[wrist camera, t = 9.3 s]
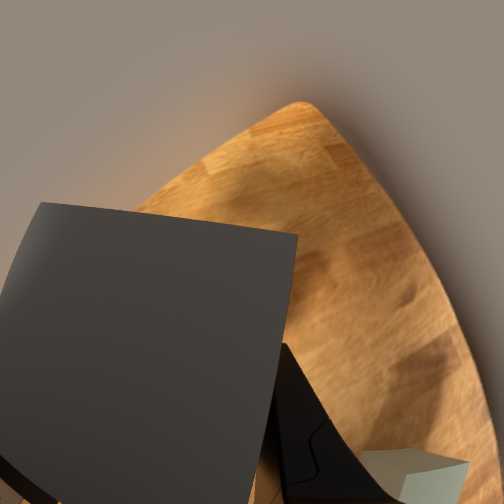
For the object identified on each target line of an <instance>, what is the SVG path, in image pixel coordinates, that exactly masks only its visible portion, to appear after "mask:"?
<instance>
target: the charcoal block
mask: <svg viewBox="0 0 504 504" xmlns="http://www.w3.org/2000/svg"><path fill="white" fill-rule="evenodd" d="M297 240H298V235H296V234H290V233H283V232H277V231H270V230H264V229H257V228H250V227H243V226H236V225H229V224H222V223H215V222H208V221H201V220H193V219H186V218H178V217H170V216H163V215H155V214H147V213H138V212H130V211H122V210H113V209H104V208H95V207H85V206H76V205H66V204H57V203H45V202H41V203H40V205H39V207H38V209H37V211H36V213H35V215H34V217H33V219H32V221H31V223H30V225H29V227H28V229H27V231H26V233H25V235H24V237H23V239H22V242H21V244H20V246H19V249H18V251H17V253H16V255H15V258H14V260H13V263H12V265H11V268H10V270H9V273H8V276H7V278H6V281H5V284H4V287H3V290H2V293H1V296H0V455H1V456H2V457H3V458H4V459H6V460H7V461H8V462H9V463H10V464H11V465H12V466H13V467H14V468H16V469H17V470H18V471H19V472H20V473H22V474H23V475H24V476H25V477H26V478H28V479H29V480H30V481H31V482H33V483H34V484H35V485H37V486H38V487H39V488H41V489H42V490H43V491H45V492H46V493H48V494H49V495H50V496H52V497H53V498H55V499H56V500H58V501H59V502H61V503H62V504H248V501H249V497H250V493H251V489H252V485H253V481H254V477H255V473H256V469H257V464H258V460H259V456H260V451H261V447H262V442H263V438H264V433H265V428H266V424H267V419H268V414H269V409H270V404H271V399H272V394H273V389H274V384H275V379H276V373H277V368H278V362H279V357H280V351H281V345H282V340H283V334H284V328H285V322H286V316H287V309H288V303H289V297H290V290H291V283H292V276H293V269H294V262H295V255H296V248H297Z"/></svg>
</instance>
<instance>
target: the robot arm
mask: <svg viewBox="0 0 504 504" xmlns="http://www.w3.org/2000/svg"><path fill="white" fill-rule="evenodd" d="M24 499H25V500H26V501H28V502H29V503H30V504H57V503H58V502H59V501H58V500H56V499H55V498H53V497H52V496H50V495H49V494H48V493H46V492H45V491H43V490H42V489H41V488H39V487H38V486H37V485H35V484H34V483H33V482H31V481H30V480H29V479H28V478H26V477H25V476H24V475H23V474H22V473H20V472H19V471H18V470H17V469H16V468H14V467H13V466H12V465H11V464H10V463H9V462H8V461H7V460H6V459H4V458H3V457H2V456H1V455H0V504H21V503H22V501H23V500H24ZM254 504H406V503H403V502H400V501H398V500H396V499H395V498H393V497H392V496H390V495H389V494H388V493H387V492H386V491H384V490H383V488H382V487H381V486H380V485H379V484H378V483H377V482H376V480H375V479H374V478H373V477H372V476H371V475H370V473H369V472H368V471H367V470H366V469H365V467H364V466H363V465H362V464H361V462H360V461H359V460H358V459H357V458H356V456H355V455H354V454H353V452H352V451H351V450H350V448H349V447H348V446H347V445H346V443H345V442H344V440H343V439H342V437H341V436H340V434H339V433H338V431H337V429H336V428H335V426H334V424H333V423H332V421H331V419H329V416H328V414H327V413H326V411H325V409H324V408H323V406H322V404H321V402H320V401H319V399H318V397H317V396H316V394H315V392H314V390H313V389H312V387H311V385H310V383H309V382H308V380H307V378H306V377H305V375H304V373H303V371H302V370H301V368H300V366H299V364H298V363H297V361H296V359H295V357H294V356H293V354H292V352H291V350H290V349H289V347H288V345H287V344H286V343H282V345H281V351H280V357H279V362H278V368H277V373H276V379H275V384H274V389H273V394H272V399H271V404H270V409H269V414H268V419H267V424H266V428H265V433H264V438H263V442H262V447H261V451H260V456H259V460H258V464H257V469H256V482H255V497H254Z"/></svg>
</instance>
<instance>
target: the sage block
mask: <svg viewBox="0 0 504 504" xmlns="http://www.w3.org/2000/svg"><path fill="white" fill-rule="evenodd" d="M359 461H360V462H361V464H362V465H363V466H364V467H365V469H366V470H367V471H368V472H369V473H370V475H371V476H372V477H373V478H374V479H375V480H376V482H377V483H378V484H379V485H380V486H381V487H382V488H383V490H384V491H386V492H387V493H388V494H389V495H390V496H392V497H393V498H395V499H396V500H398V501H400V502H403V503H406V504H457V502H458V499H459V496H460V493H461V490H462V487H463V484H464V481H465V478H466V474H467V471H468V467H469V463H470V462H468V461H463V460H458V459H454V458H450V457H445V456H441V455H437V454H434V453H430V452H426V451H423V450H419V449H416V448H406V449H392V450H361V452H360V456H359Z"/></svg>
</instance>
